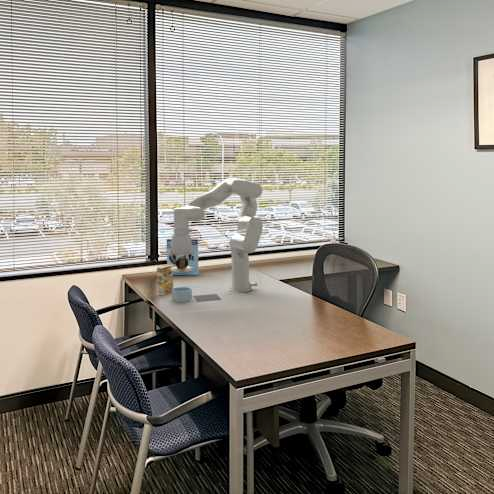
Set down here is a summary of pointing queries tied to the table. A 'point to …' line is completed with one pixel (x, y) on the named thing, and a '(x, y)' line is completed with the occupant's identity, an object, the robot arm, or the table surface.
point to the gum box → (192, 260)
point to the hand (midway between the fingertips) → (181, 267)
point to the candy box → (164, 279)
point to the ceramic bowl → (181, 294)
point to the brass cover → (181, 266)
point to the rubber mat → (207, 297)
